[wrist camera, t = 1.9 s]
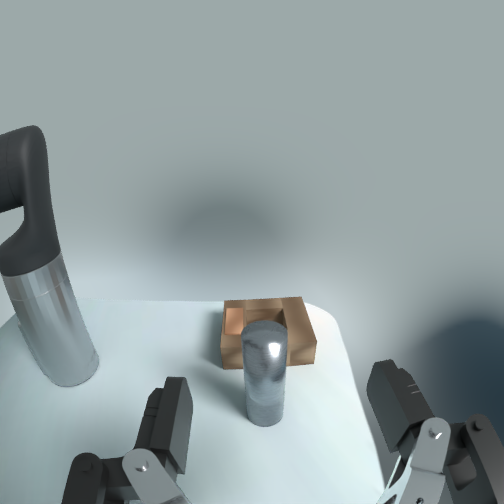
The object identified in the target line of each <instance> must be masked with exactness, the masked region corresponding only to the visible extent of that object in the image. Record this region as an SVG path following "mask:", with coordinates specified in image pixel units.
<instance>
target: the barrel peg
mask: <svg viewBox="0 0 504 504" xmlns="http://www.w3.org/2000/svg"><path fill="white" fill-rule="evenodd" d="M287 343H288V332H287V330H286V328H285V327H284V326H283V325H281V324H279V323H277V322H274V321H268V320H262V321H256V322H253V323H250V324H248V325H247V326H245V327H244V328H243V330H242V332H241V344H242V356H243V369H244V381H245V392H246V404H247V414H248V418H249V420H250V421H251V422H252V423H253V424H255V425H258V426H262V427H268V426H272V425H275V424H276V423H278V422H279V421H280V420H281V418H282V416H283V407H284V393H285V378H286V362H287Z"/></svg>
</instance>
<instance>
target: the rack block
mask: <svg viewBox="0 0 504 504" xmlns="http://www.w3.org/2000/svg"><path fill="white" fill-rule="evenodd" d="M262 320H268V321H274V322H277V323H279V324H281V325H283V326H284V327H285V328H286V330H287V332H288V343H287V362H286V366H295V365H306V364H314V359H315V352H316V344H317V340H316V337H315V334H314V332H313V329H312V326H311V323H310V320H309V317H308V314H307V311H306V308H305V305H304V302H303V300H302V297H289V298H274V299H273V298H271V299H253V300H230V301H229V300H228V301H224V312H223V322H222V333H221V345H220V349H221V356H222V363H223V369H243V356H242V344H241V332H242V330H243V328H244V327H245V326H247V325H248V324H250V323H253V322H256V321H262Z"/></svg>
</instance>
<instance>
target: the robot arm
mask: <svg viewBox="0 0 504 504" xmlns="http://www.w3.org/2000/svg"><path fill="white" fill-rule="evenodd" d="M21 206H24V221H23V223H22V225H21V226H20V228H19V229H18V230H17V231H16V232H15V233H14V234H13V235H12V236H11V237H9V238H8V239H7V240H6V241H5V242H3V243H2V244H1V245H0V272H1V276H2V278H3V281H4V284H5V287H6V290H7V292H8V295H9V297H10V300H11V302H12V305H13V307H14V310H15V312H16V314H17V317H18V319H19V321H18V326H19V328H20V330H21V333H22V335H23V337H24V339H25V341H26V343H27V345H28V346H29V348H30V350H31V352H32V354H33V356H34V358H35V359H36V361H37V363H38V365H39V366H40V368H41V370H42V372H43V373H44V374H45V375H48V376H49V378H50V379H51V381H52V382H53V383H55V384H57V385H59V386H64V387H69V386H75V385H78V384H80V383H82V382H84V381H86V380H87V379H89V378H90V377H91V376H92V375H93V374H94V372H95V371H96V369H97V367H98V363H99V358H98V355H97V353H96V350H95V348H94V346H93V343H92V341H91V339H90V336H89V334H88V331H87V329H86V326H85V324H84V321H83V318H82V316H81V313H80V310H79V307H78V305H77V302H76V299H75V296H74V293H73V290H72V287H71V284H70V280H69V277H68V274H67V271H66V267H65V264H64V260H63V256H62V253H61V249H60V245H59V241H58V236H57V231H56V225H55V220H54V215H53V209H52V203H51V194H50V184H49V170H48V157H47V149H46V142H45V138H44V135H43V133H42V131H41V130H40V128H39V127H37V126H34V125H32V126H27V127H23V128H20V129H16V130H13V131H11V132H8V133H5V134H2V135H0V213H2V212H5V211H8V210H11V209H15V208H18V207H21ZM367 396H368V399H369V401H370V403H371V406H372V408H373V411H374V413H375V416H376V418H377V420H378V423H379V426H380V428H381V431H382V433H383V436H384V438H385V441H386V443H387V446H388V449H389V451H390V453H392V452H395V451H398V450H399V452H400V456H399V458H398V461H397V463H396V466H395V468H394V471H393V473H392V475H391V478H390V481H389V483H388V485H387V487H386V489H385V491H384V493H383V494H382V496H381V497H380V498H379V500H378V502H377V503H376V504H438V502H439V498H440V495H441V492H442V489H443V486H444V482H445V479H446V482H447V485H448V488H449V491H450V494H451V496H452V500H453V503H454V504H504V448H503V446H502V444H501V442H500V440H499V438H498V436H497V434H496V432H495V430H494V428H493V426H492V424H491V423H490V421H489V419H488V418H487V417H486V416H484V415H482V414H474V415H472V416H470V417H469V418H468V420H467V421H466V422H464V423H454V424H448V423H447V422H446V421H445V420H443V419H441V418H436V417H435V416H434V415H433V413H432V411H431V409H430V408H429V406H428V404H427V402H426V401H425V399H424V397H423V395H422V393H421V392H420V391H419V388H418V386H417V385H416V384H415V381H414V380H413V378H412V376H411V375H410V374H409V373H408V372H407V371H405V370H404V369H403V368H400V369H398V368H397V367H396V365H395V363H394V361H393V360H391V359H389V360H385V361H380V362H375V363H374V365H373V368H372V371H371V374H370V377H369V380H368V383H367ZM192 414H193V401H192V397H191V394H190V390H189V387H188V384H187V380H186V378H185V377H167V378H166V381H165V385H164V388H156V389H155V390H154V391H153V392H152V393H151V394H150V396H149V397H148V401H147V404H146V409H145V411H144V417H143V418H142V422H141V425H140V429H139V433H138V436H137V440H136V444H135V446H134V448H133V450H131V451H129V452H128V453H127V454H126V455H125V456H123V457H120V458H110V459H100V458H99V457H98V456H96V455H95V454H92V453H81V454H79V455H77V456H76V457H75V458H74V460H73V462H72V465H71V468H70V472H69V475H68V479H67V483H66V487H65V491H64V495H63V499H62V503H61V504H129V500H139V499H140V500H141V501H142V503H143V504H192V503H191V502H190V501H189V500H188V498H187V497H186V496H185V495H184V493H183V492H182V491H181V489H180V488H179V487H178V485H177V484H176V477H177V474H185V467H186V459H187V451H188V443H189V436H190V428H191V421H192ZM469 455H470V456H469ZM470 457H471V458H470ZM472 462H473V463H472ZM474 467H475V468H474ZM475 469H476V470H475ZM442 471H443V473H444V474H443V473H442Z"/></svg>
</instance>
